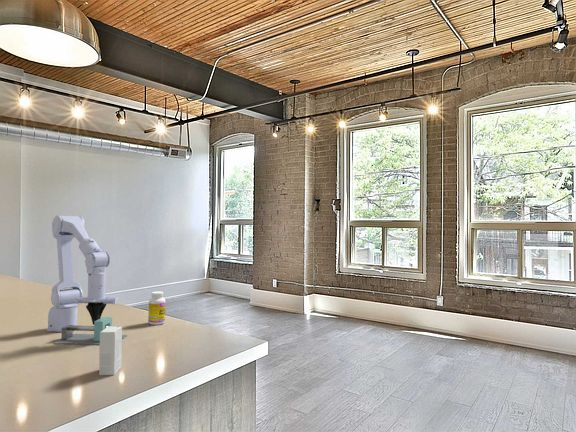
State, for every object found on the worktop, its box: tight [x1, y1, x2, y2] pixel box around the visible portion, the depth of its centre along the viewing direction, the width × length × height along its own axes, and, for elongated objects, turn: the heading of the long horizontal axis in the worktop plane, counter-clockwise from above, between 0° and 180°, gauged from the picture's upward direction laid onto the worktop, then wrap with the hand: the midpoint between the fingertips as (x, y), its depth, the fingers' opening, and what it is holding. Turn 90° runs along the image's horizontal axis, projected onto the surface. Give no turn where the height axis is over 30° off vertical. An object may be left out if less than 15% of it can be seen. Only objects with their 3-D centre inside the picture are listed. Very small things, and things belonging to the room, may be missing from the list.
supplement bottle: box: [147, 290, 166, 326], centre depth 163 cm, size 7×7×13 cm
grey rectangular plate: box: [53, 333, 128, 346], centre depth 139 cm, size 21×11×1 cm, turn 88°
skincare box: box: [98, 325, 123, 376], centre depth 110 cm, size 6×4×12 cm
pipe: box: [60, 324, 123, 340], centre depth 139 cm, size 20×4×5 cm, turn 88°
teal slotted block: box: [93, 316, 113, 341], centre depth 139 cm, size 3×7×7 cm, turn 178°
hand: (96, 323), depth 139 cm, fingers closed
